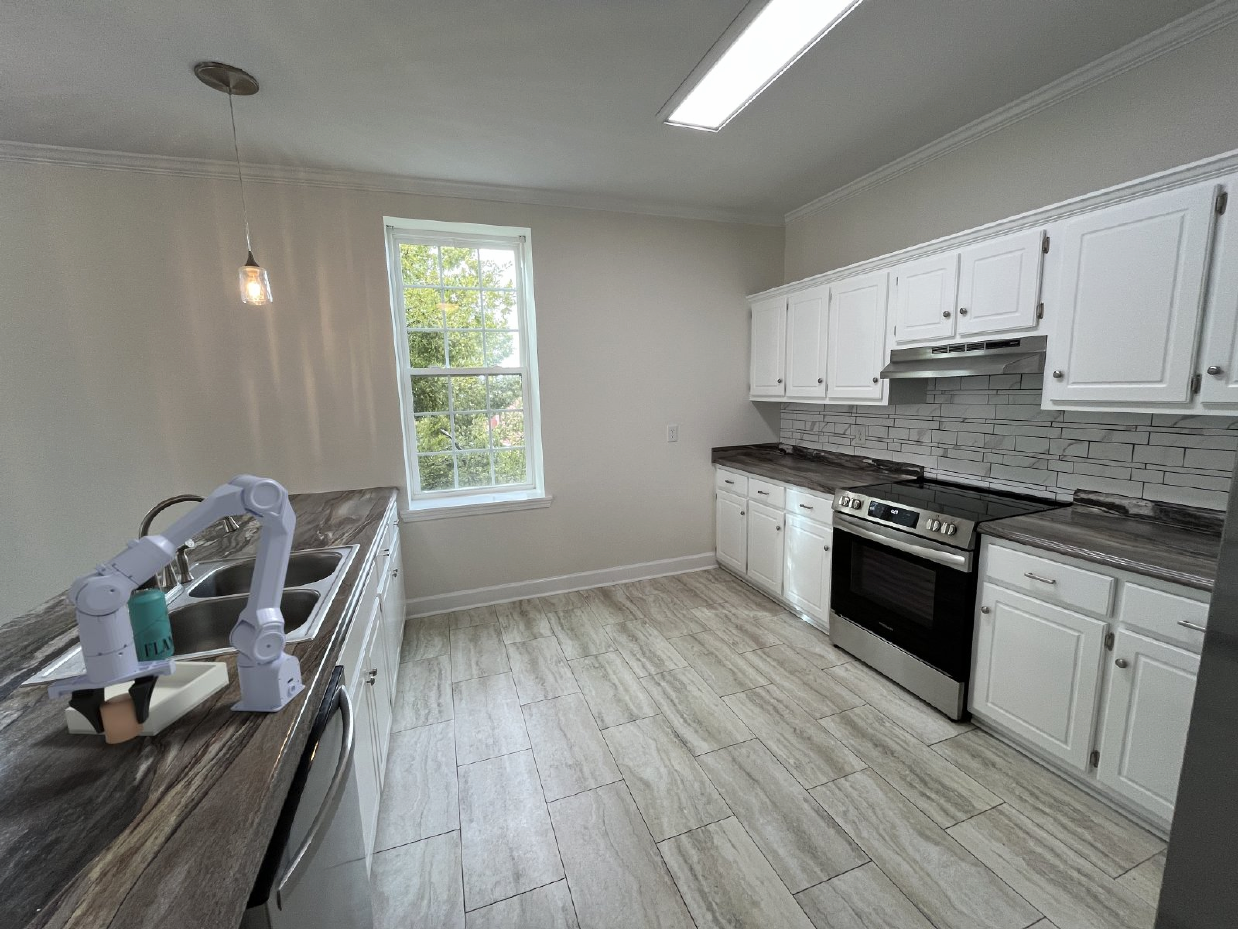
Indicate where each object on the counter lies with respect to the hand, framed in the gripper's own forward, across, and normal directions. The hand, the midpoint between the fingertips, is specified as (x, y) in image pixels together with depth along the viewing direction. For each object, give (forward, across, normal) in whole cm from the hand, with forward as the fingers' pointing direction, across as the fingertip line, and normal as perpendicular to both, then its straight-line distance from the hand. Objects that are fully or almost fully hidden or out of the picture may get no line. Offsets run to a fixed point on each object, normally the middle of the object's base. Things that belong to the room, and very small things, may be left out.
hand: (123, 725), depth 82 cm
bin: (+7, +2, -17) cm, 18 cm away
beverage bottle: (+7, +8, -38) cm, 39 cm away
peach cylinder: (+2, 0, 0) cm, 2 cm away
